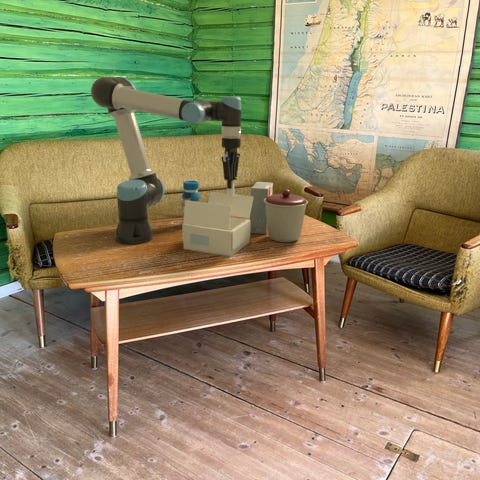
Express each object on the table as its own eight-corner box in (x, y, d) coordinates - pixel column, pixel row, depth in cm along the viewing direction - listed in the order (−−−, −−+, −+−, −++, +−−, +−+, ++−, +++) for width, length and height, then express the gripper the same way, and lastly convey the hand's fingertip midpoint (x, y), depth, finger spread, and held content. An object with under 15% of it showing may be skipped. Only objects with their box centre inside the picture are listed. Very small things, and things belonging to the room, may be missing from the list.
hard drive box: (266, 234, 208) (267, 189, 202) (248, 233, 210) (249, 188, 204) (271, 224, 223) (273, 182, 217) (255, 223, 224) (256, 181, 218)
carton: (181, 249, 189) (181, 224, 186) (203, 236, 204) (203, 213, 201) (232, 257, 181) (232, 231, 178) (250, 243, 196) (251, 219, 193)
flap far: (210, 191, 202) (211, 192, 203) (206, 212, 201) (206, 212, 202) (253, 196, 195) (253, 196, 196) (248, 218, 194) (249, 218, 194)
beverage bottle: (200, 228, 216) (200, 183, 210) (181, 228, 215) (180, 183, 209) (201, 222, 224) (200, 180, 218) (182, 222, 223) (181, 180, 217)
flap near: (183, 223, 185) (183, 223, 184) (185, 200, 184) (185, 200, 183) (229, 230, 178) (228, 230, 177) (231, 205, 177) (231, 205, 176)
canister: (273, 247, 192) (276, 195, 185) (255, 234, 208) (256, 186, 201) (313, 243, 198) (317, 192, 192) (293, 230, 214) (295, 183, 208)
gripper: (233, 139, 184) (232, 200, 191) (246, 136, 195) (245, 193, 202) (215, 138, 186) (215, 198, 194) (229, 135, 198) (228, 192, 205)
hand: (230, 195), depth 198 cm, fingers closed
